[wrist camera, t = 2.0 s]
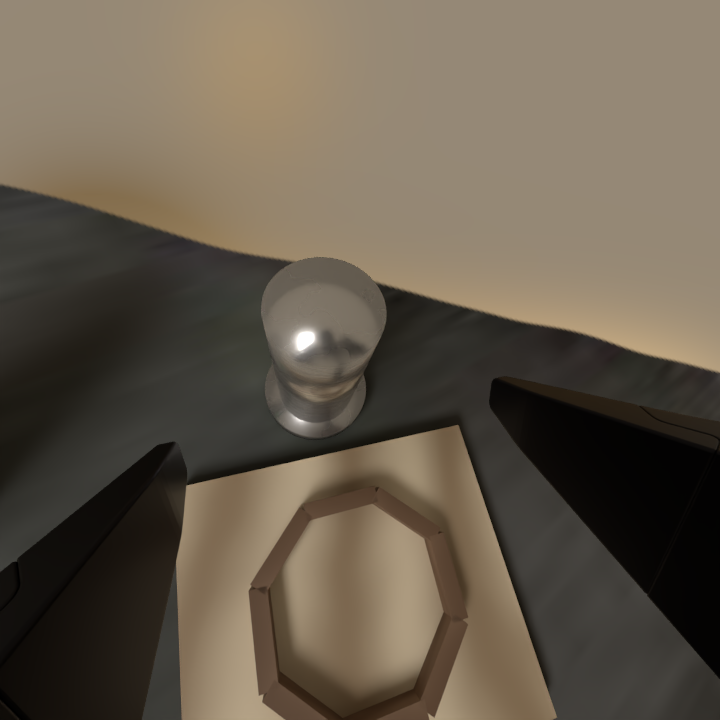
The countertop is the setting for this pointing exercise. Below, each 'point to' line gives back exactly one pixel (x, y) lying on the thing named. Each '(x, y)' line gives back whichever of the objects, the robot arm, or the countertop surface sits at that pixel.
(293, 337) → the aluminium hub pin
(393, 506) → the maple board
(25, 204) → the countertop surface
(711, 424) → the robot arm
